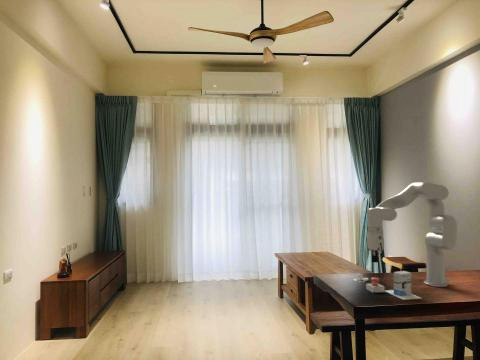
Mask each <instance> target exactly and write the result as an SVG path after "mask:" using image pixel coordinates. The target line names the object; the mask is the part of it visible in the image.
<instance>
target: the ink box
mask: <svg viewBox="0 0 480 360" xmlns="http://www.w3.org/2000/svg"><path fill="white" fill-rule="evenodd" d="M393 290H394V294H396V295H399V296H404V295H409V294H412V272H411V271H410V272H409V271H406V270H400V271H394V272H393Z"/></svg>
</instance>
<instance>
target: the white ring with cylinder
mask: <svg viewBox="0 0 480 360" xmlns="http://www.w3.org/2000/svg"><path fill="white" fill-rule="evenodd" d="M354 276H355V278H353V281H355V282H359V283H361V282H362V283H364V282H367V281H369V278H368V277H363V273H362V274H361V273H357V274H355V275H354Z"/></svg>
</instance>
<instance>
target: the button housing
mask: <svg viewBox="0 0 480 360" xmlns="http://www.w3.org/2000/svg"><path fill="white" fill-rule="evenodd" d="M365 289H366V291H370V292H371V293H374V292H375V293H385V286H384V285H382V284H379V283H378V286H372V283H366V284H365Z"/></svg>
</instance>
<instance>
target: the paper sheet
mask: <svg viewBox="0 0 480 360" xmlns="http://www.w3.org/2000/svg"><path fill="white" fill-rule="evenodd" d="M384 293H388V294H390V295H392V296H394V297H396V298H398V299H400V300H402V301H404V300H405V301H406V300H408V301H409V300H422V299H423V298H422V297H420V296H417V295H415V294H413V293H411V294H409V295H404V296H399V295H396V294H394V289H389V290H386V289H385V290H384Z"/></svg>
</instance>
